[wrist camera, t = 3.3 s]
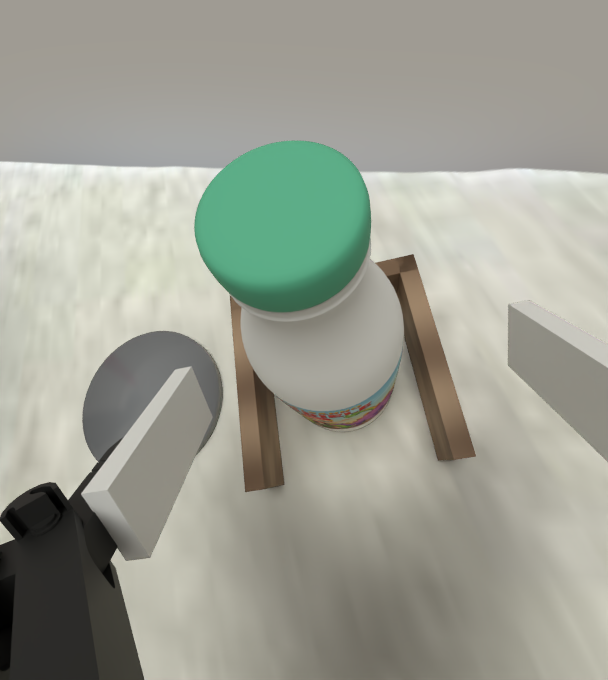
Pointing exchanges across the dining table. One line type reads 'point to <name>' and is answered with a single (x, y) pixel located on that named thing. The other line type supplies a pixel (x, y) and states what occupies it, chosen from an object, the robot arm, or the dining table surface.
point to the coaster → (143, 385)
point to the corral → (428, 369)
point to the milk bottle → (305, 280)
